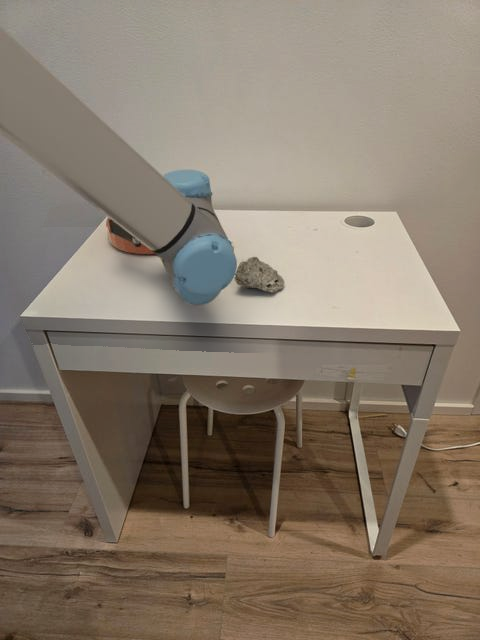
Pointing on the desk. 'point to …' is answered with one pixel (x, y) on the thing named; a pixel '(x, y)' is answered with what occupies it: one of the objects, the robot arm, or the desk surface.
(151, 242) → the robot arm
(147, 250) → the bowl
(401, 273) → the desk surface
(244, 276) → the rock sample
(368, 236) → the desk surface
